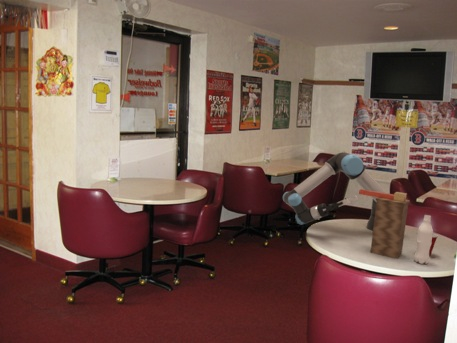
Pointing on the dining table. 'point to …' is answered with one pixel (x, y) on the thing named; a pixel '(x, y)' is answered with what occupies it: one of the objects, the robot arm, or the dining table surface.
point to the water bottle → (424, 241)
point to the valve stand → (389, 227)
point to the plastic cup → (432, 242)
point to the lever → (385, 195)
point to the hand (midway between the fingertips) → (352, 198)
